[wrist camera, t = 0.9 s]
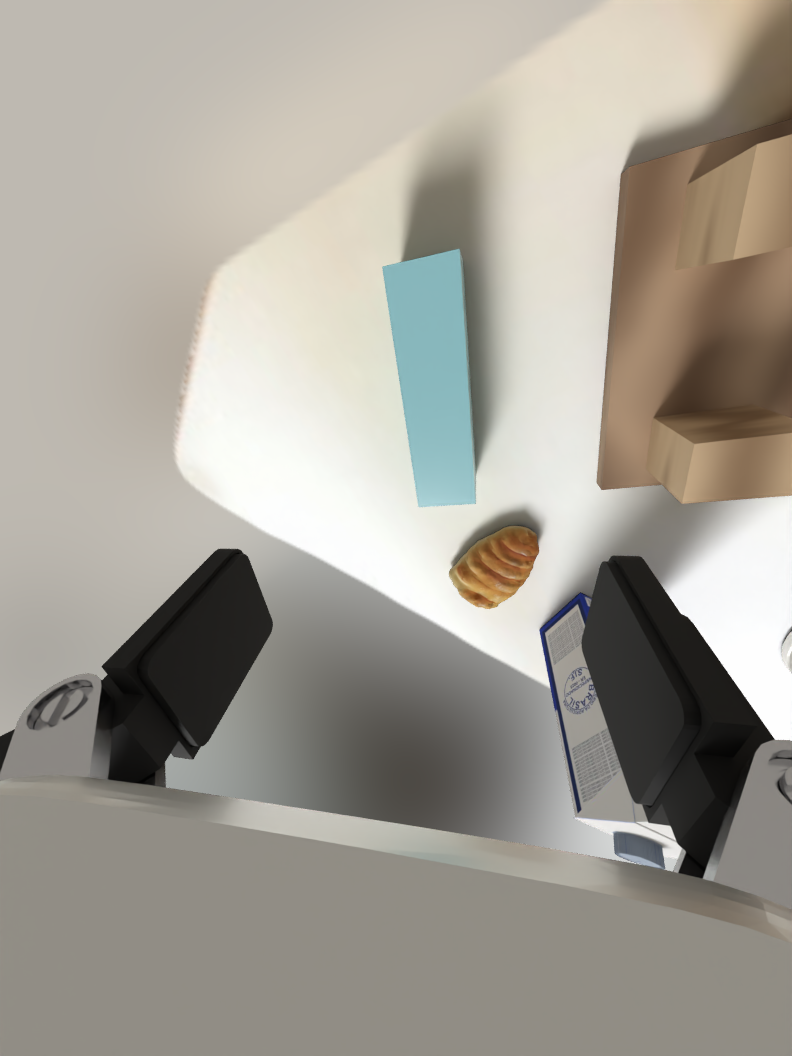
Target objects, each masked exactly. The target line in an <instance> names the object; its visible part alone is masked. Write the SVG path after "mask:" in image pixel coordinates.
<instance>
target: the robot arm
mask: <svg viewBox="0 0 792 1056" xmlns="http://www.w3.org/2000/svg"><path fill="white" fill-rule="evenodd" d="M272 627H273V622H272V618H271V616H270V614H269V611H268V608H267V605H266V603H265V600H264V597H263V595H262V592H261V590H260V587H259V584H258V582H257V579H256V577H255V574H254V571H253V569H252V566H251V563H250V561H249V559H248V556H246V555H245V554H243V553H242V551H241V550H239V549H218V550H216V551H215V552H214V553H213V554H212V555H211V556H210V557H209V558H208V559H207V560H206V561H205V562H204V563H203V564H202V565H201V566H200V567H199V568H198V569H197V570H196V571H195V572H194V573H193V574H192V575H191V576H190V577H189V578H188V579H187V580H186V581H185V582H184V583H183V584H182V585H181V587H179V588H178V589H177V590H176V591H175V592H174V594H172V595H171V596H170V598H169V599H168V600H167V601H166V602H165V603H164V604H163V605H162V606H161V607H160V608H159V609H158V610H157V611H156V612H155V613H154V614H153V615H152V616H151V617H150V618H149V619H148V620H147V621H146V622H145V623H144V624H143V625H142V626H141V627H140V628H139V629H138V630H137V631H136V632H135V633H134V634H133V635H132V636H131V637H130V638H129V639H128V640H127V641H126V642H125V643H124V644H123V645H122V646H121V647H120V648H119V649H118V651H116V652H115V653H114V654H113V655H112V656H111V657H110V658H109V659H108V661H106V662H105V664H104V665H103V666H102V668H103V669H104V670H105V672H106V673H107V674H108V675H107V676H106V677H105V678H104V679H103V680H101V679H100V678H99V677H98V676H97V675H94V674H80V675H76V676H73V677H70V678H67V679H65V680H63V681H61V682H59V683H57V684H55V685H53V686H52V687H50V688H49V689H47V690H46V691H44V692H43V693H42V694H40V695H39V696H38V697H37V698H36V699H35V700H33V701H32V702H31V703H30V704H29V706H28V707H27V708H26V709H25V710H24V712H23V713H22V715H21V717H20V718H19V720H18V722H17V726H16V728H15V729H14V730H12V731H10V732H8V733H6V734H4V735H2V736H0V1056H792V741H790V740H775V739H774V738H773V736H772V735H771V734H770V732H769V731H768V729H767V728H766V726H765V725H764V724H763V722H762V721H761V719H760V718H759V717H758V715H757V714H756V712H755V711H754V709H753V708H752V707H751V705H750V704H749V702H748V701H747V699H746V698H745V697H744V695H743V694H742V692H741V691H740V689H739V688H738V687H737V685H736V684H735V682H734V681H733V680H732V678H731V677H730V675H729V674H728V672H727V671H726V670H725V668H724V667H723V665H722V664H721V662H720V661H719V660H718V658H717V657H716V655H715V654H714V653H713V651H712V650H711V648H710V647H709V645H708V644H707V643H706V641H705V640H704V638H703V637H702V635H701V634H700V633H699V631H698V630H697V628H696V627H695V625H694V624H693V623H692V622H691V621H690V619H689V618H688V617H686V616H684V615H682V614H681V613H680V612H679V610H678V609H677V608H676V606H675V605H674V603H673V602H672V600H671V599H670V597H669V596H668V594H667V593H666V592H665V590H664V589H663V587H662V586H661V584H660V583H659V581H658V580H657V578H656V577H655V575H654V574H653V573H652V571H651V570H650V568H649V567H648V565H647V564H646V562H645V561H644V560H643V559H642V557H639V556H612V557H611V558H610V559H609V562H602V564H601V566H600V569H599V573H598V577H597V581H596V585H595V589H594V593H593V597H592V600H591V604H590V608H589V612H588V616H587V620H586V624H585V628H584V632H583V635H582V642H581V644H582V652H583V655H584V658H585V661H586V664H587V667H588V670H589V673H590V676H591V679H592V682H593V685H594V688H595V691H596V694H597V697H598V700H599V703H600V706H601V709H602V712H603V715H604V718H605V721H606V724H607V727H608V730H609V733H610V736H611V739H612V742H613V745H614V748H615V751H616V754H617V757H618V760H619V763H620V766H621V769H622V772H623V775H624V778H625V781H626V784H627V787H628V790H629V793H630V795H631V797H632V799H633V801H634V802H635V803H636V804H642V806H643V809H644V812H645V815H646V817H647V820H648V823H652V824H659V825H667V826H671V829H672V831H673V834H674V836H675V839H676V841H677V844H678V845H679V846H680V847H681V848H682V850H681V852H680V855H679V857H678V860H677V863H676V865H675V867H674V870H673V872H671V871H667V870H663V869H658V868H654V867H649V866H644V865H638V864H633V863H627V862H621V861H616V860H611V859H605V858H600V857H594V856H589V855H583V854H578V853H572V852H567V851H561V850H556V849H550V848H544V847H538V846H532V845H526V844H520V843H513V842H508V841H501V840H495V839H489V838H483V837H476V836H471V835H464V834H458V833H452V832H445V831H440V830H434V829H428V828H421V827H415V826H409V825H403V824H396V823H390V822H383V821H378V820H371V819H364V818H359V817H352V816H346V815H340V814H333V813H327V812H320V811H314V810H308V809H302V808H295V807H289V806H283V805H276V804H269V803H263V802H257V801H250V800H243V799H237V798H230V797H224V796H217V795H211V794H204V793H198V792H191V791H185V790H178V789H171V788H166V776H165V761H166V759H167V758H168V756H169V755H170V753H171V754H172V755H173V756H174V757H179V758H185V759H194V757H195V755H196V754H197V752H198V750H199V749H200V747H201V746H204V745H205V744H206V743H207V742H208V741H209V739H210V738H211V736H212V734H213V732H214V731H215V729H216V727H217V725H218V724H219V722H220V720H221V719H222V717H223V715H224V713H225V712H226V710H227V708H228V706H229V705H230V703H231V701H232V699H233V698H234V696H235V694H236V693H237V691H238V689H239V687H240V686H241V684H242V682H243V680H244V679H245V677H246V675H247V673H248V672H249V670H250V668H251V667H252V665H253V663H254V661H255V660H256V658H257V656H258V654H259V653H260V651H261V649H262V648H263V646H264V644H265V642H266V641H267V639H268V637H269V635H270V634H271V631H272ZM781 655H782V661H783V662H784V664H785V666H786V668H787V669H788V670H789V671H790V672H791V673H792V631H791V632H790V633H789V635H788V636H787V638H786V640H785V641H784V643H783V646H782V651H781Z"/></svg>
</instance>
